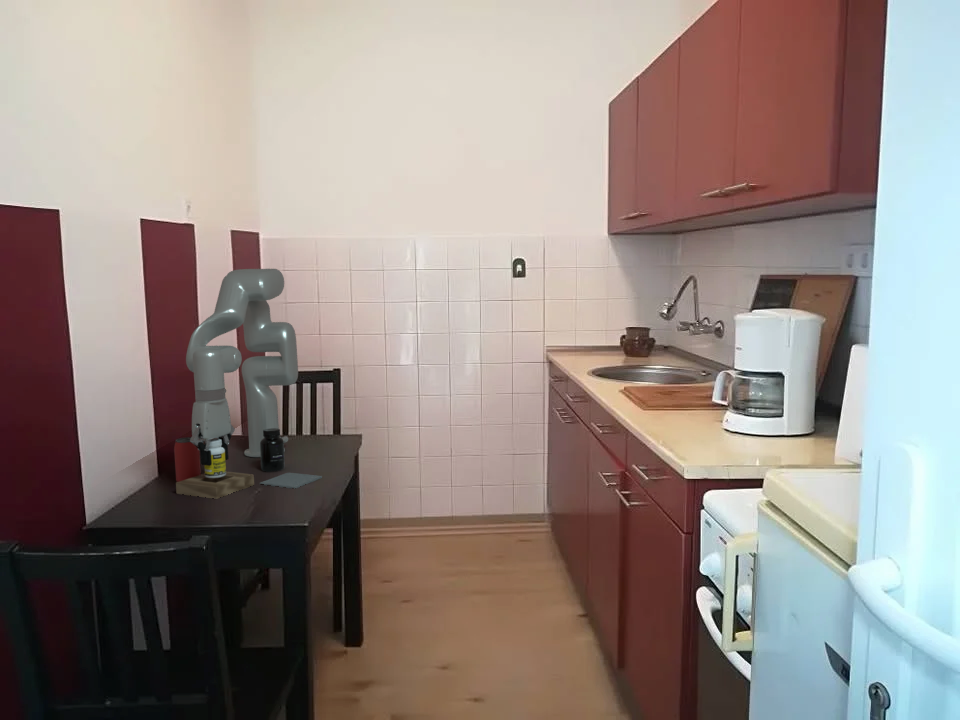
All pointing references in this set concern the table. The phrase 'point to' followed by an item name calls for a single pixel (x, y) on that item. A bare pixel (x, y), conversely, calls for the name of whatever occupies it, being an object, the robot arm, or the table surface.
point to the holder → (214, 485)
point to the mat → (291, 480)
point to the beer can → (186, 459)
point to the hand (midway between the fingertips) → (214, 461)
